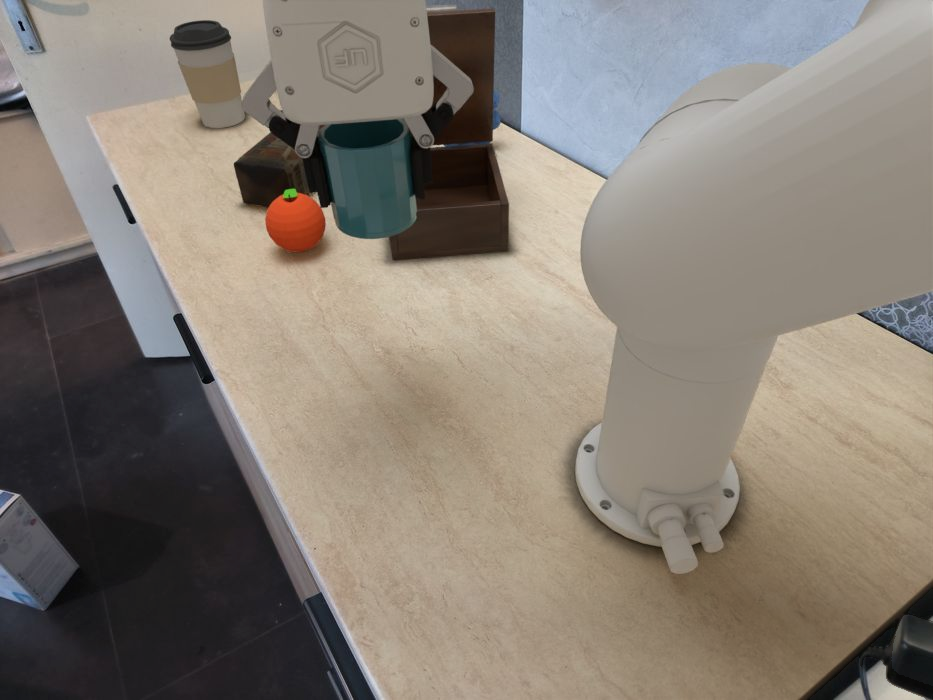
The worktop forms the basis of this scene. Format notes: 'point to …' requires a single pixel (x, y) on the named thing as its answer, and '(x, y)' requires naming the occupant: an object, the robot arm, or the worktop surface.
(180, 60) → the coffee cup
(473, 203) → the brown wooden box
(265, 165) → the beverage carton
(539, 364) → the worktop surface
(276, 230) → the clementine
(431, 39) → the lid
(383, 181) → the cup
